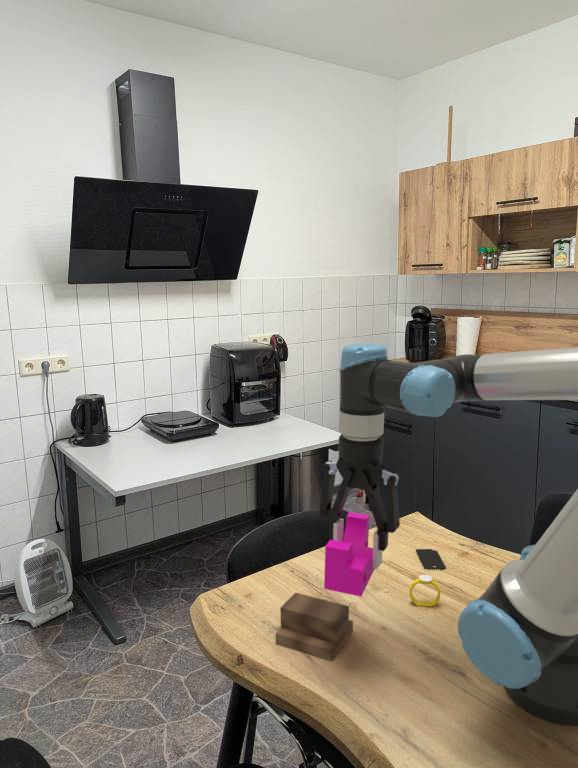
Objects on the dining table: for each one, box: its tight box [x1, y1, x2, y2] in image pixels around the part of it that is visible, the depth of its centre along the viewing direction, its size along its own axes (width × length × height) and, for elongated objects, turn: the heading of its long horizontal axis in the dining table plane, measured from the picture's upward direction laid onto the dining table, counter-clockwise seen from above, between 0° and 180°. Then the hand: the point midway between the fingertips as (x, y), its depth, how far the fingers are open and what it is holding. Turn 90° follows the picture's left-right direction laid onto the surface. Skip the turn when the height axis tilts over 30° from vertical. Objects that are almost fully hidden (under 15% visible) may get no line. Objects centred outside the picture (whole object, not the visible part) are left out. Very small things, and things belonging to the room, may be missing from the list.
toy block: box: [323, 511, 375, 597], centre depth 101 cm, size 15×6×8 cm, turn 159°
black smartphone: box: [415, 548, 447, 571], centre depth 138 cm, size 5×1×10 cm
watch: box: [408, 574, 441, 608], centre depth 118 cm, size 6×3×6 cm, turn 80°
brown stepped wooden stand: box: [275, 592, 354, 661], centre depth 107 cm, size 11×10×6 cm
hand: (357, 560), depth 104 cm, fingers closed on toy block, 7 cm apart
